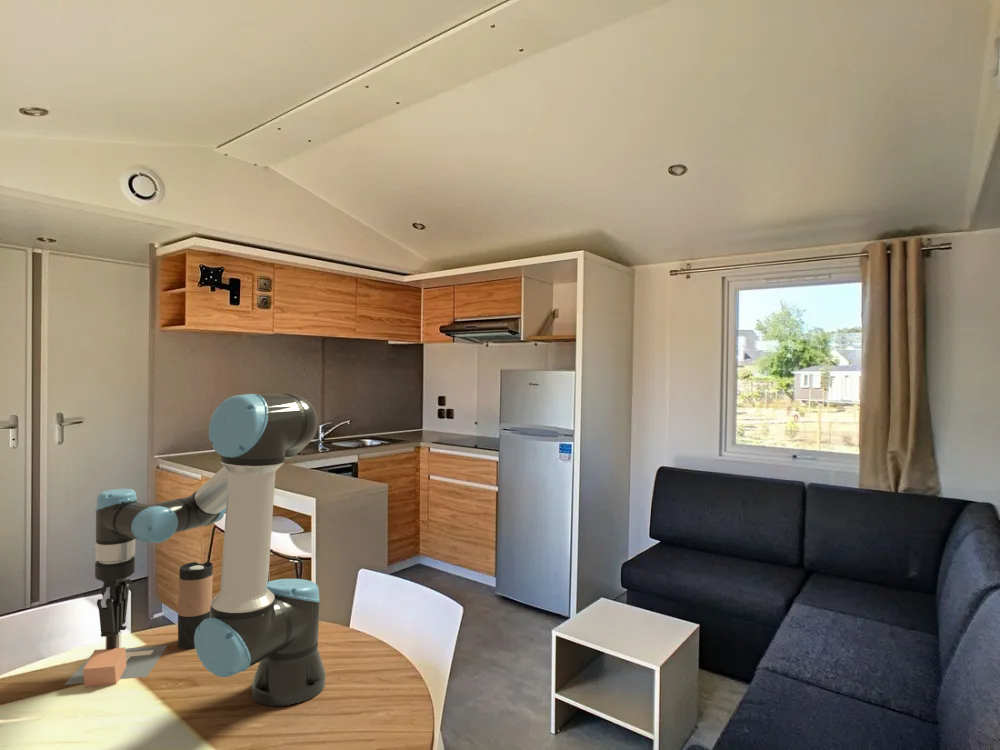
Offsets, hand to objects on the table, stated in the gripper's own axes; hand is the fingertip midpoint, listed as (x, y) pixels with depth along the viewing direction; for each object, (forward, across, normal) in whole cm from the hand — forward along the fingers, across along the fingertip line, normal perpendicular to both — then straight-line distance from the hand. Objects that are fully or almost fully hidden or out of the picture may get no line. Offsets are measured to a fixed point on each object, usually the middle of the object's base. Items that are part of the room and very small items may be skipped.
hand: (113, 661), depth 132 cm
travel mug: (+3, -12, +14) cm, 19 cm away
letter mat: (+3, -4, 0) cm, 5 cm away
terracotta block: (+2, +3, 0) cm, 4 cm away
